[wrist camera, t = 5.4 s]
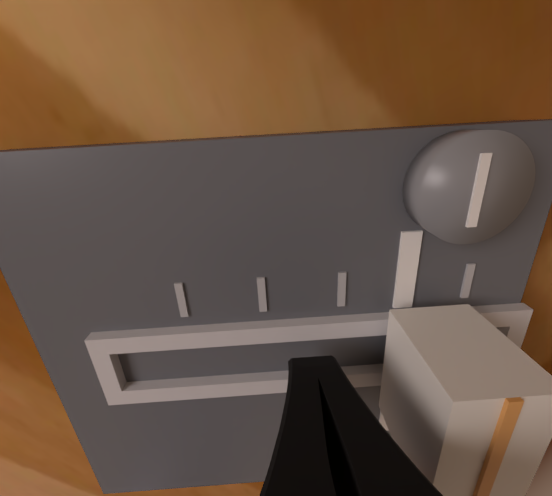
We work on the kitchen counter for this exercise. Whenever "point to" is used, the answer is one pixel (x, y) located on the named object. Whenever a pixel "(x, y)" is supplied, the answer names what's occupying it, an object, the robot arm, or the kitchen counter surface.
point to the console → (254, 274)
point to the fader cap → (464, 401)
